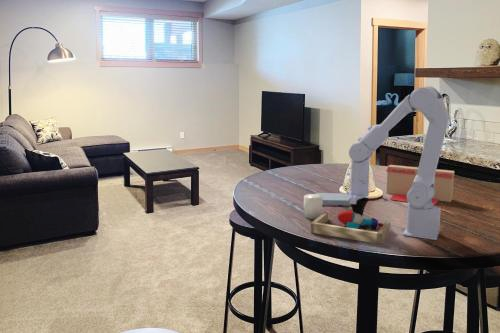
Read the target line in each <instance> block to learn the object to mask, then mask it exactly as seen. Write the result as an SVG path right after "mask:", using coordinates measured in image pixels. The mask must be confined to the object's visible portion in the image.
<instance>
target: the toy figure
mask: <svg viewBox="0 0 500 333" xmlns="http://www.w3.org/2000/svg"><path fill="white" fill-rule="evenodd" d="M337 219H338V221H339V222H340V223H342V224H343V225H345V227H347V228H354V229H359V228H360V226H365V227H367V228H368V227H369V228H370V229H372V230H376V231H377V230H378V231H379V230H380V229H381V227H382V226H383V225H384V223H382V222H379V220H378V219H376V218H374V217H372V218H371V219H369V218H364V217H363V216H361V215H360V214H357V213H356V214H355V212H354V213H353V210H352V211H350V210H346V211H345V210H344V211H341V212H340V213H338V214H337ZM378 226H379V228H378Z"/></svg>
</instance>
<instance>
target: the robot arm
mask: <svg viewBox="0 0 500 333" xmlns="http://www.w3.org/2000/svg"><path fill="white" fill-rule="evenodd" d="M416 111H418V112H419V113H420V114H422V115H423V116H424V117H425V118H426V120H427V122H428V127H427V131H426V135H425V139H424V143H423V148H422V153H421V156H420V158H419V164H418V172H417V175H416V177H415V179H414V182H413V185H412V187H411V189H410V190H409V191H408V192H407V201H408V202H407V210H406V211H407V212H406V224H405V225H406V227H405V230H404V231H403V232H402V235H403V236H407V237H411V238H421V239H425V240H433V241H436V240H438V236H439V234H440V232H441V210H442V209H441V208H440V207H437V206H435V205H434V206H433V203H432V201H431V199H432V198H433V197H434V195H435V188H434V182H435V172H436V169H437V168H438V164H439V159H440V156H441V152H442V148H443V145H444V140H445V138H446V137H445V136H446V133H447V129H448V124H449V121H450V115H449V112H448V109H447V107H446V104H445V102H444V97H443V95H442V93H441V92H439V90H437V88H435V87H433V86H425V87H424V86H423V87H417V88H415V89H414V90H413V91H411V93H410V94H408V95H407V96H405V97H404V99H403V100H401V101H400V102H399V104H398V105H397V106H396V107H395V108H394V109H393V110H392V111H391V112H390V114H388V116H387V117H386V118H385V119H384V120H383V121H382V122H381V123H380V124H373V125H371V126H369V127H368V128H367V132H366V133H365V134H364V135H363V136H362V137H359V138H358V139H357V141H358V142H357V143H353V144H352V145H351V146H350V148H349V150H348V156H349V158H350V160H351V163H350V164H351V165H350V184H349V186H350V187H349V190H347V191H346V192H345V193H346V194H349V195H350V199H349V204H351V206H350V207H351V209H352V211H353V213H354V212H355V214H356V213H357V214H360V215H361V216H362V217H363V215H364V211H365V208H366V207H367V203H368V202H369V195H370V194H369V182H370V181H369V180H370V158H371V157H372V155H373V153H374V152H375V151H377V149H378V148H379V147H380V146H381V145H383V143H384V142H385V141H387V140H388V138H389V131H391V130H392V129H393V128H394V127H396V125H397V124H398V123H399V122H400V121H401V120H402V119H403V118H405V117H406V116H407V115H408V114H410V113H412V112H416Z"/></svg>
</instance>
